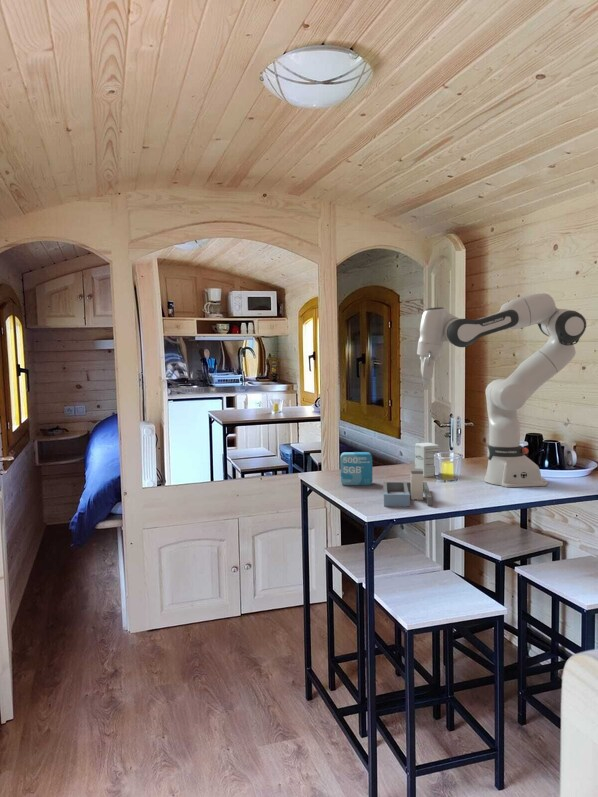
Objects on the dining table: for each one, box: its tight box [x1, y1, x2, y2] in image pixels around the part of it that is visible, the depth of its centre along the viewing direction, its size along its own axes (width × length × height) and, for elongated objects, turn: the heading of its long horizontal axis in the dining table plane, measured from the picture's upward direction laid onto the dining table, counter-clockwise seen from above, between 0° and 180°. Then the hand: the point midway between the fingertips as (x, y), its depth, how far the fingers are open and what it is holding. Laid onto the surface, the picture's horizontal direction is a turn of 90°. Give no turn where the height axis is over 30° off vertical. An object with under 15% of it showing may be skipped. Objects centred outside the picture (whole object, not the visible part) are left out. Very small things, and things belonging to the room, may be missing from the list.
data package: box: [339, 451, 373, 486], centre depth 232 cm, size 12×4×12 cm, turn 87°
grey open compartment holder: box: [382, 481, 433, 508], centre depth 211 cm, size 16×22×4 cm
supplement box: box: [414, 442, 440, 478], centre depth 245 cm, size 7×7×13 cm
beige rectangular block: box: [410, 468, 424, 501], centre depth 210 cm, size 4×4×10 cm
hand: (424, 387), depth 226 cm, fingers open, 8 cm apart
